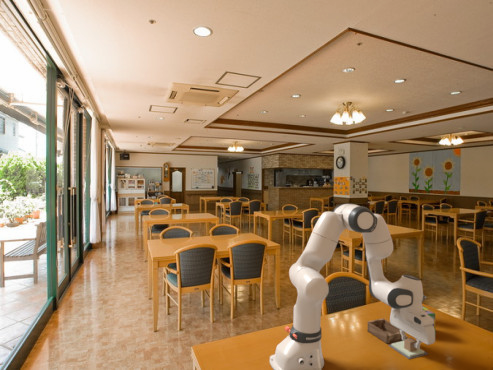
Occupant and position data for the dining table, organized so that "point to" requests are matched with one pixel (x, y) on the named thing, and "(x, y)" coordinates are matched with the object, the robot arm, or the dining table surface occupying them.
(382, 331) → the open wooden box
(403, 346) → the cover plate
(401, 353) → the mat
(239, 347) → the dining table surface
